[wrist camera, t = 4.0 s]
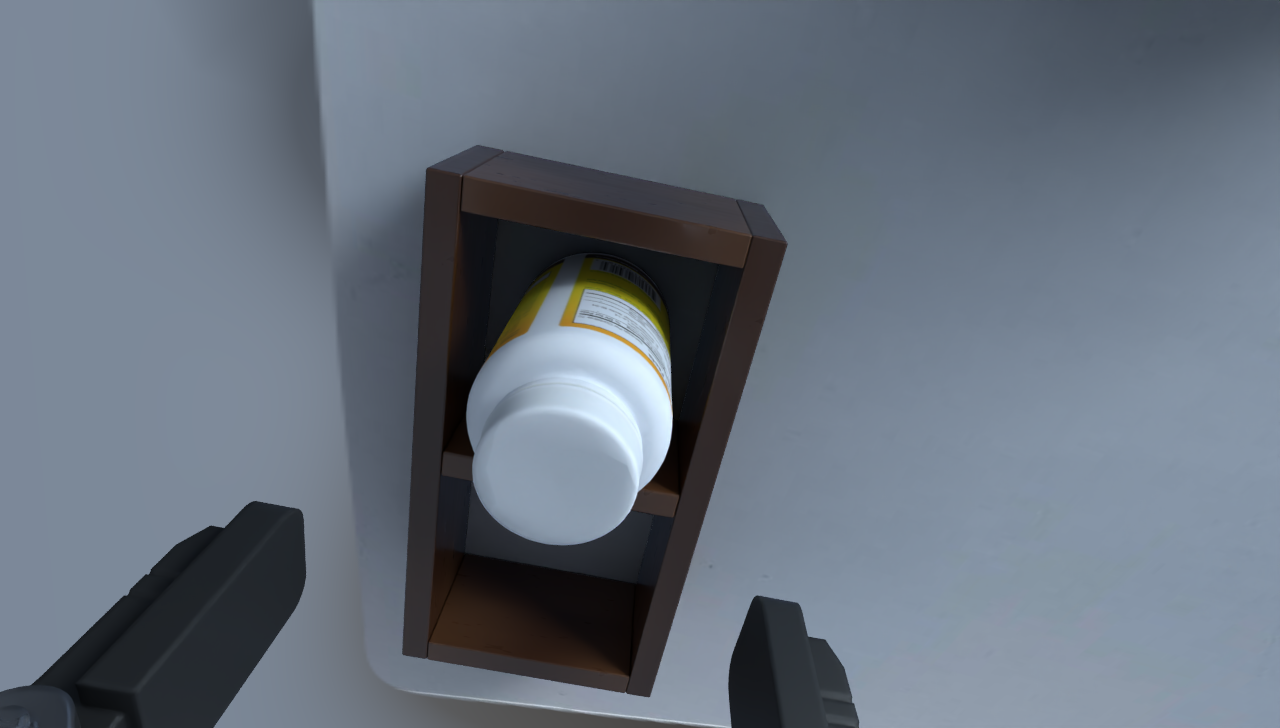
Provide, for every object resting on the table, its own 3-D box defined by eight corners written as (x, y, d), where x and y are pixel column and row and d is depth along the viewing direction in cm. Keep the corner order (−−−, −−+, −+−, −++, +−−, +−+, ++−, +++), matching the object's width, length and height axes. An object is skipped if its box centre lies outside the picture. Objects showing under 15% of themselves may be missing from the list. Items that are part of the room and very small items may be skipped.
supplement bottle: (538, 390, 26) (464, 578, 16) (510, 255, 23) (406, 385, 14) (677, 379, 25) (682, 566, 16) (664, 240, 23) (661, 365, 14)
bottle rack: (441, 565, 30) (401, 655, 25) (475, 144, 22) (425, 167, 17) (652, 602, 30) (649, 698, 26) (764, 204, 22) (788, 242, 18)
